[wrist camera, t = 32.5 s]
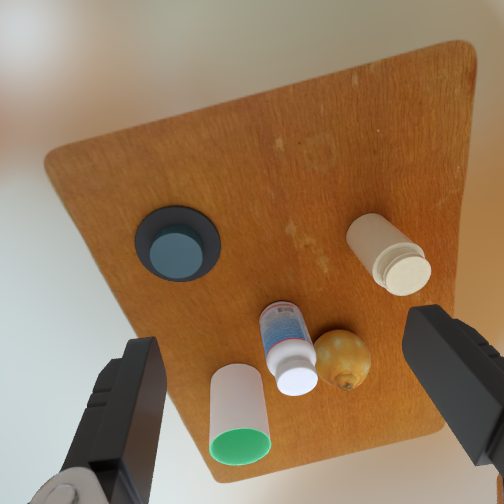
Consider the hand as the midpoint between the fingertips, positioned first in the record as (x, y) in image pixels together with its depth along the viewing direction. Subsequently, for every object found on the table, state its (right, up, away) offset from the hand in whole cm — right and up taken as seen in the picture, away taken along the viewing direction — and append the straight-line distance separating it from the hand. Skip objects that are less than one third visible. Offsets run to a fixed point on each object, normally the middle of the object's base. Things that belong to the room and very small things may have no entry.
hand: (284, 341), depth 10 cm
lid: (-10, +2, +27) cm, 29 cm away
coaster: (-10, +4, +29) cm, 31 cm away
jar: (+14, +5, +31) cm, 34 cm away
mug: (-3, -19, +42) cm, 47 cm away
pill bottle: (+3, -6, +36) cm, 37 cm away
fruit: (+11, -11, +39) cm, 42 cm away
